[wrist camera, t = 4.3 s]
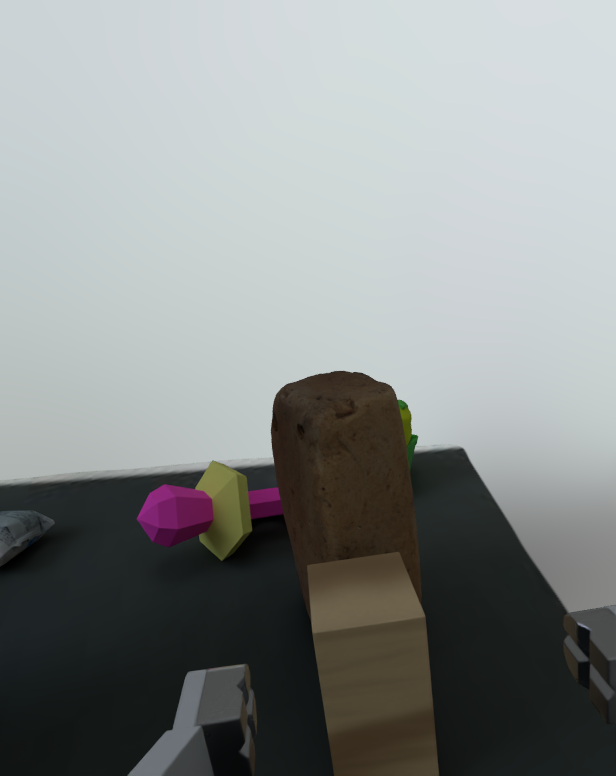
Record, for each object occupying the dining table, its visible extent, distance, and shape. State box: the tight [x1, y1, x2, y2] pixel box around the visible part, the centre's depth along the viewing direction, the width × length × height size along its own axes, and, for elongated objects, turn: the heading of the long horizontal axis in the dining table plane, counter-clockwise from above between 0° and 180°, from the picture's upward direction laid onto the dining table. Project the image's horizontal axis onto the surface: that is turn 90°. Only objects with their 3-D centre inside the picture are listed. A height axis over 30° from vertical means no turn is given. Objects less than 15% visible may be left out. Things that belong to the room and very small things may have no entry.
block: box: [271, 371, 422, 620], centre depth 36 cm, size 11×8×20 cm
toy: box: [137, 461, 283, 561], centre depth 51 cm, size 10×18×10 cm, turn 126°
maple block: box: [307, 552, 439, 776], centre depth 27 cm, size 6×6×11 cm
